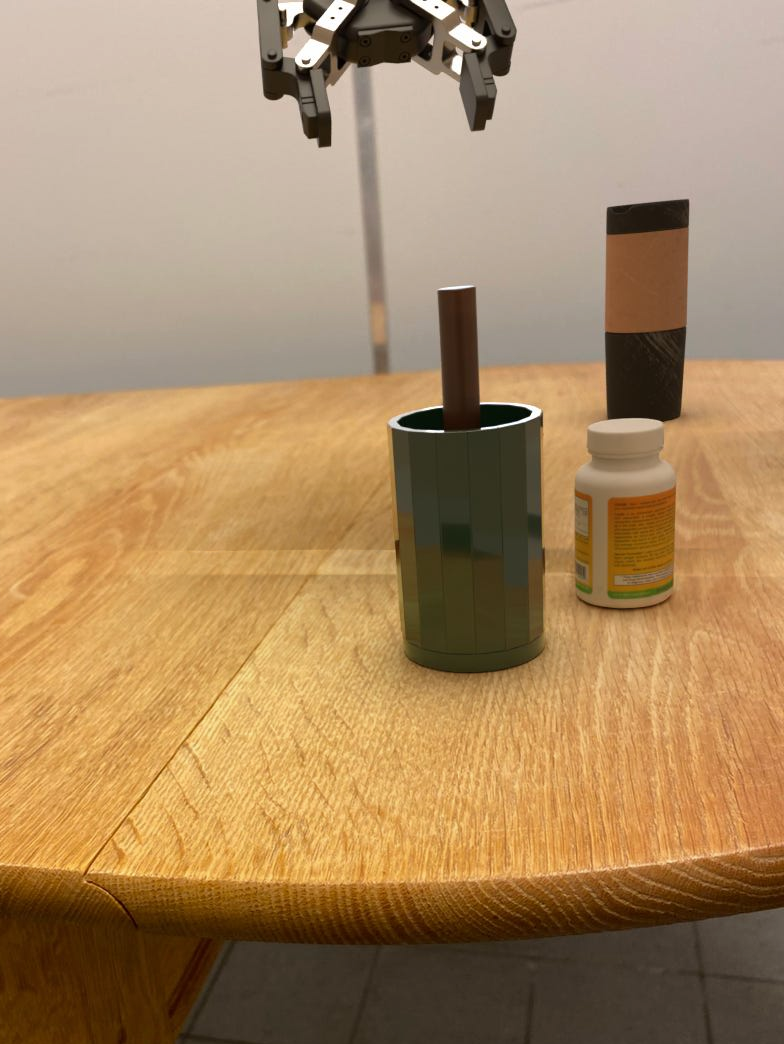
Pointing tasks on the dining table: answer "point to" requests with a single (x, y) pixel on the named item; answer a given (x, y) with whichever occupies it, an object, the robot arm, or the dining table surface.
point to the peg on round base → (459, 357)
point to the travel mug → (646, 308)
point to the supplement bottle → (625, 516)
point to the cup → (470, 537)
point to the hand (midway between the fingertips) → (403, 126)
